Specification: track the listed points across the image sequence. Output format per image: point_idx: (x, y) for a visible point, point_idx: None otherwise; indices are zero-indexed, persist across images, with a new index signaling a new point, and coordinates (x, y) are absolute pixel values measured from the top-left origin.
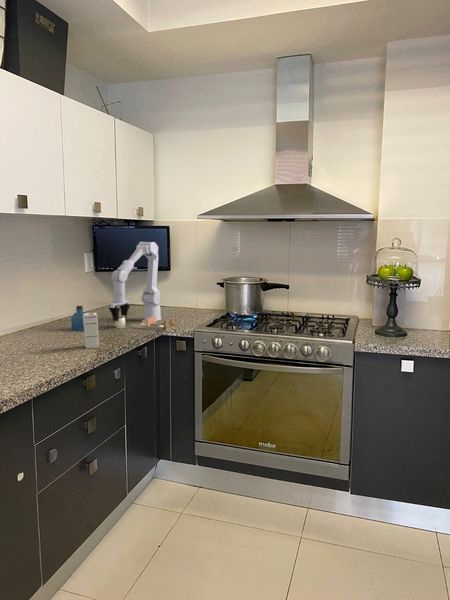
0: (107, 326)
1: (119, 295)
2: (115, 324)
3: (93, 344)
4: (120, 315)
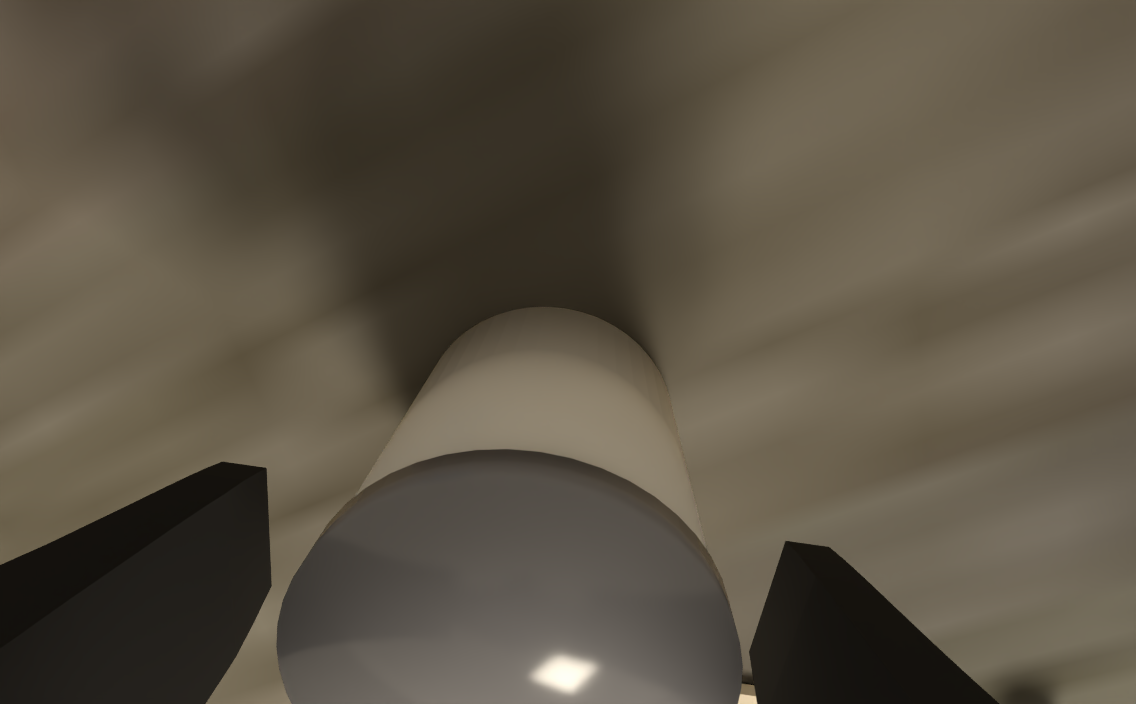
0: (545, 8)
1: None
2: (451, 361)
3: None
4: (630, 654)
